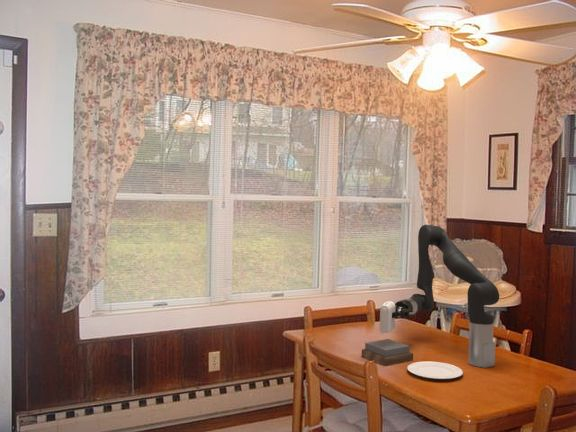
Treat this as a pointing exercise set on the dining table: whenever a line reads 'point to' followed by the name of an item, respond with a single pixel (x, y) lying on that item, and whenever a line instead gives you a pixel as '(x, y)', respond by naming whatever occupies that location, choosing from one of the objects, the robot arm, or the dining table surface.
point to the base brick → (387, 360)
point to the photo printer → (387, 317)
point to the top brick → (387, 348)
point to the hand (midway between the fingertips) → (386, 314)
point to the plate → (435, 370)
